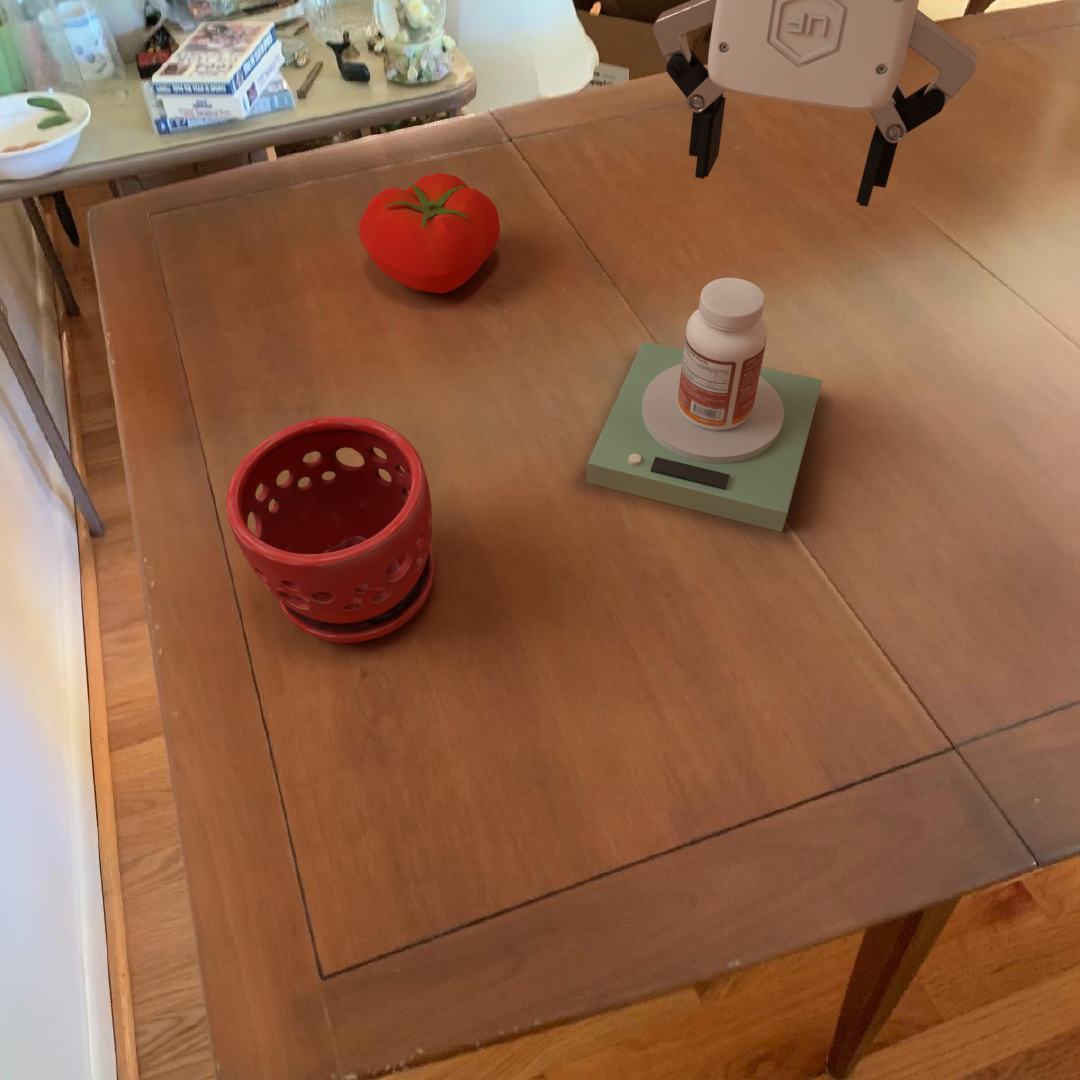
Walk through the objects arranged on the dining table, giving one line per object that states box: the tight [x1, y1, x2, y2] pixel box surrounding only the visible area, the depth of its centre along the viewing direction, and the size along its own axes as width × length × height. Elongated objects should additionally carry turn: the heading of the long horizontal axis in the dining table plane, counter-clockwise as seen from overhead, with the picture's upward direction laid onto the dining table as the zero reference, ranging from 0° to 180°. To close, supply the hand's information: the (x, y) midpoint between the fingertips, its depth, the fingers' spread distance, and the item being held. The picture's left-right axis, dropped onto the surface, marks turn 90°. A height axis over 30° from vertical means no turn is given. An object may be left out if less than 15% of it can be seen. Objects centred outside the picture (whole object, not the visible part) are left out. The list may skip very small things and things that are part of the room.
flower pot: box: [225, 415, 436, 644], centre depth 68 cm, size 13×13×12 cm
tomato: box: [358, 172, 501, 294], centre depth 94 cm, size 14×13×9 cm
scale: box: [586, 341, 823, 533], centre depth 81 cm, size 16×16×3 cm
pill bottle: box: [678, 277, 768, 430], centre depth 76 cm, size 6×6×11 cm
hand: (784, 180), depth 59 cm, fingers open, 9 cm apart
